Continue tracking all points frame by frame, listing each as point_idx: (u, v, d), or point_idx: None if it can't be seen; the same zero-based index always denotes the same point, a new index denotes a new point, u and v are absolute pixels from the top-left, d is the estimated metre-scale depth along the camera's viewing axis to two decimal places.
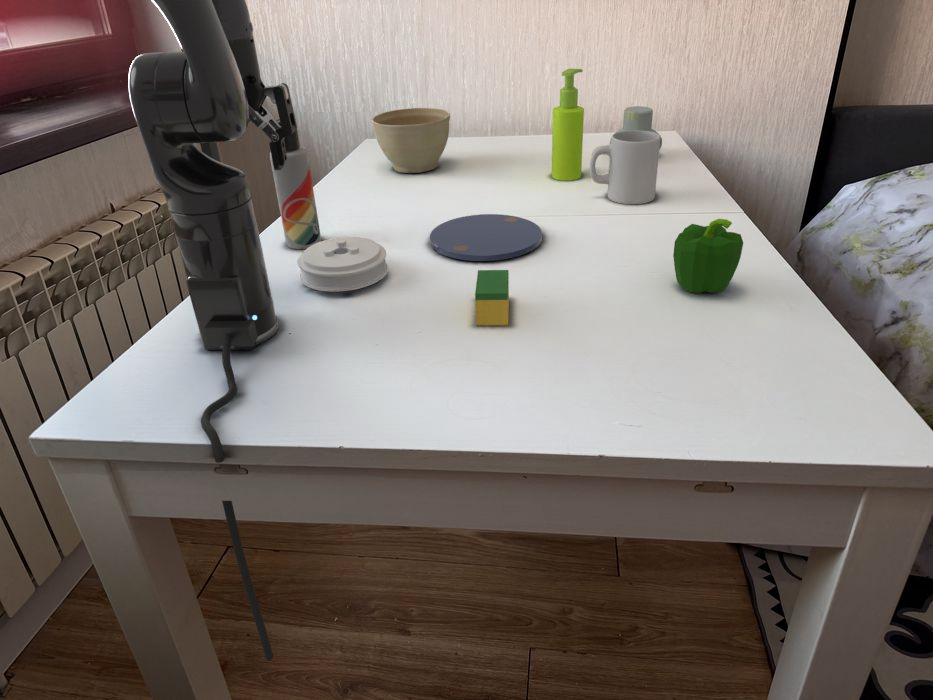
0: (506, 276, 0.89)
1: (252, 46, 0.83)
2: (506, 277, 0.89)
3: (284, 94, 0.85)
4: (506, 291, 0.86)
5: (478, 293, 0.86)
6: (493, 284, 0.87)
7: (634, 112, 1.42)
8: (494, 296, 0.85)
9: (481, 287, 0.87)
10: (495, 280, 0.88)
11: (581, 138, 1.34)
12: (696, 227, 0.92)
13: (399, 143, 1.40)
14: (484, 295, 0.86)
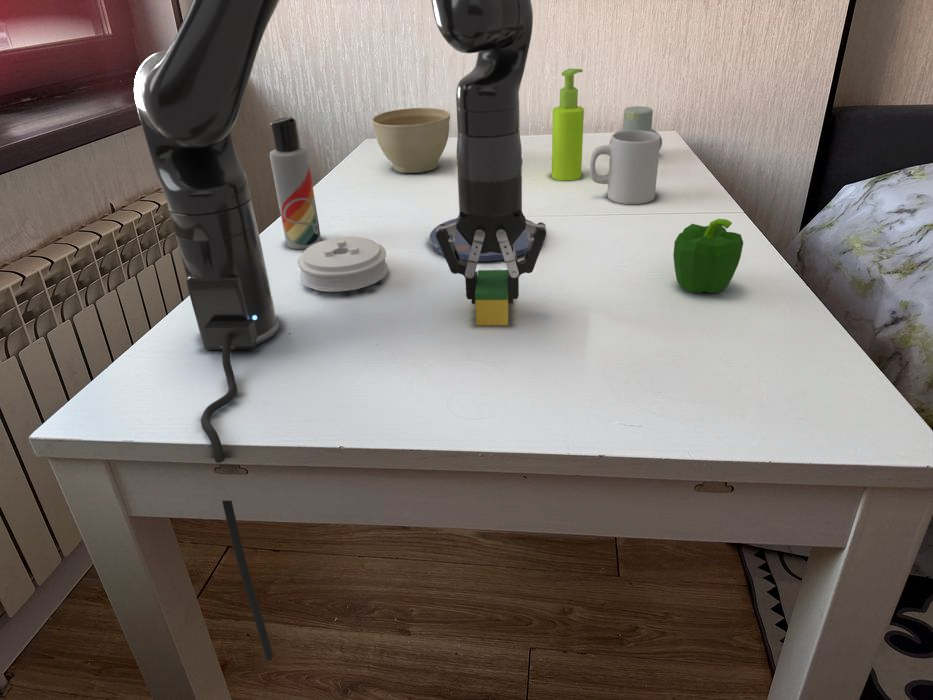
0: (506, 276, 0.89)
1: (521, 180, 0.81)
2: (506, 277, 0.89)
3: (544, 237, 0.84)
4: (506, 291, 0.86)
5: (478, 293, 0.86)
6: (493, 284, 0.87)
7: (634, 112, 1.42)
8: (494, 296, 0.85)
9: (481, 287, 0.87)
10: (495, 280, 0.88)
11: (581, 138, 1.34)
12: (696, 227, 0.92)
13: (399, 143, 1.40)
14: (484, 295, 0.86)
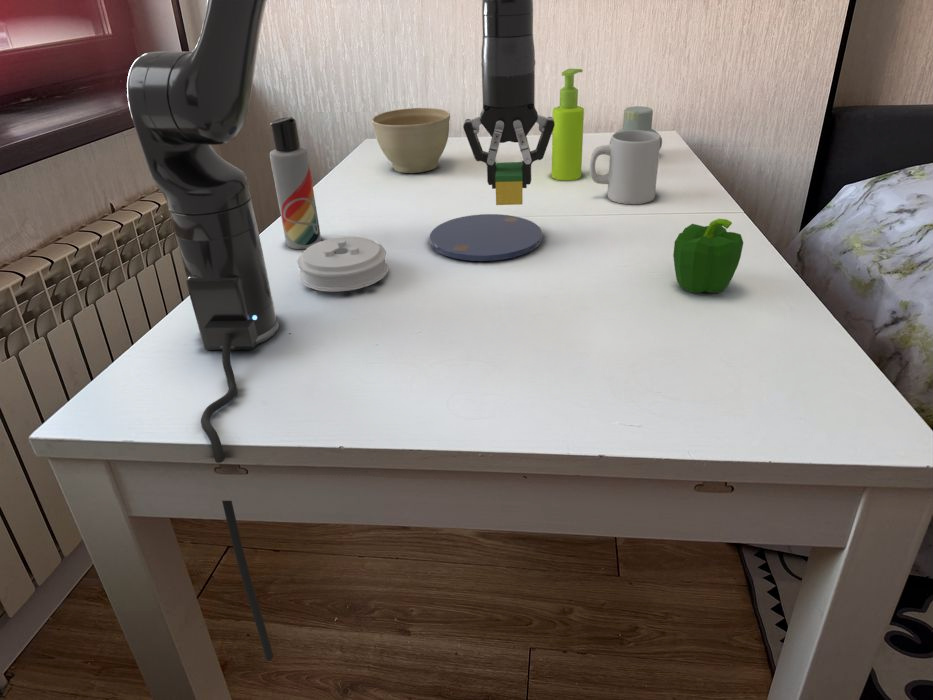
0: (520, 165, 1.07)
1: (534, 78, 0.99)
2: (520, 166, 1.07)
3: None
4: (521, 174, 1.03)
5: (497, 175, 1.03)
6: (510, 170, 1.05)
7: (634, 112, 1.42)
8: (511, 178, 1.03)
9: (500, 172, 1.05)
10: (511, 168, 1.06)
11: (581, 138, 1.34)
12: (696, 227, 0.92)
13: (399, 143, 1.40)
14: (503, 177, 1.03)
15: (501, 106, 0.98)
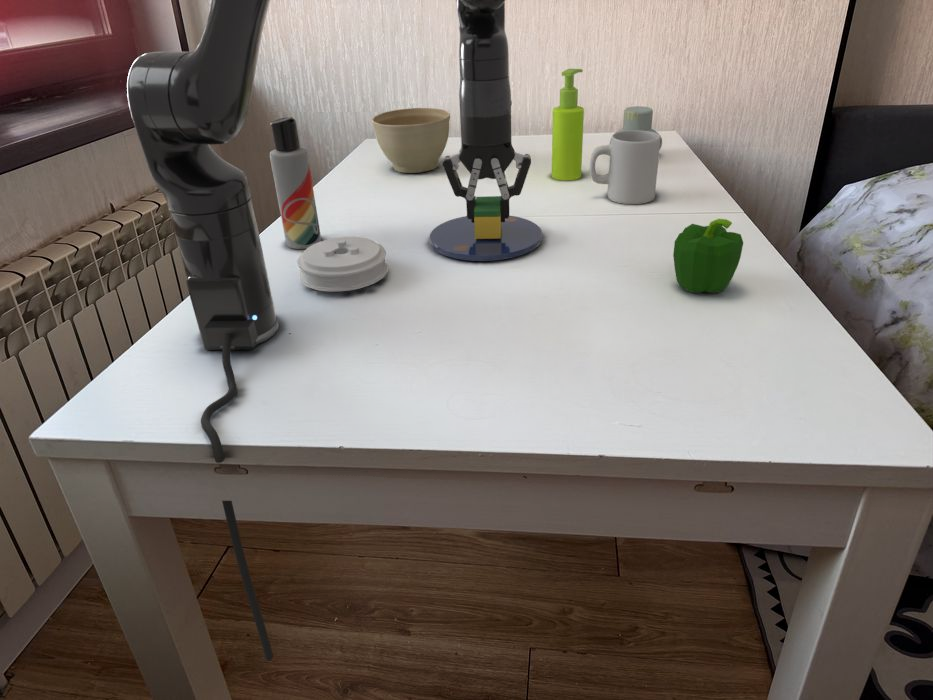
0: (499, 200, 1.10)
1: None
2: (499, 201, 1.10)
3: (529, 165, 1.05)
4: (499, 209, 1.07)
5: (476, 211, 1.06)
6: (488, 205, 1.08)
7: (634, 112, 1.42)
8: (489, 214, 1.06)
9: (479, 207, 1.08)
10: (490, 203, 1.09)
11: (581, 138, 1.34)
12: (696, 227, 0.92)
13: (399, 143, 1.40)
14: (481, 213, 1.06)
15: (478, 145, 1.01)
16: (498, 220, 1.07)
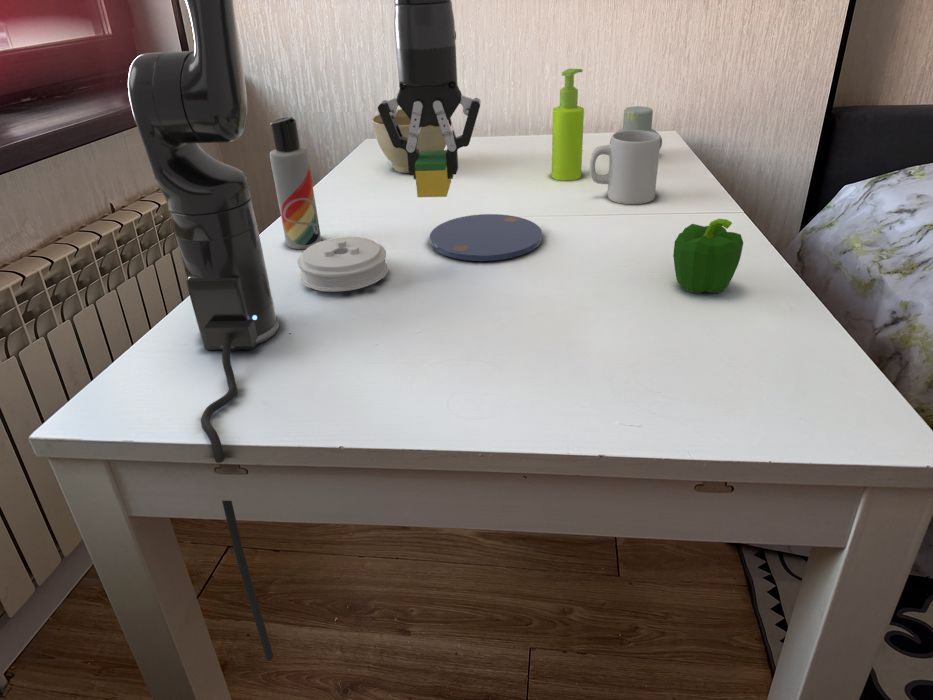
0: None
1: (455, 53, 0.88)
2: None
3: (478, 110, 0.90)
4: (444, 162, 0.92)
5: (417, 163, 0.92)
6: (433, 158, 0.94)
7: (634, 112, 1.42)
8: (432, 167, 0.92)
9: (421, 160, 0.93)
10: (435, 156, 0.95)
11: (581, 138, 1.34)
12: (696, 227, 0.92)
13: None
14: (423, 166, 0.92)
15: (417, 84, 0.87)
16: (443, 175, 0.92)
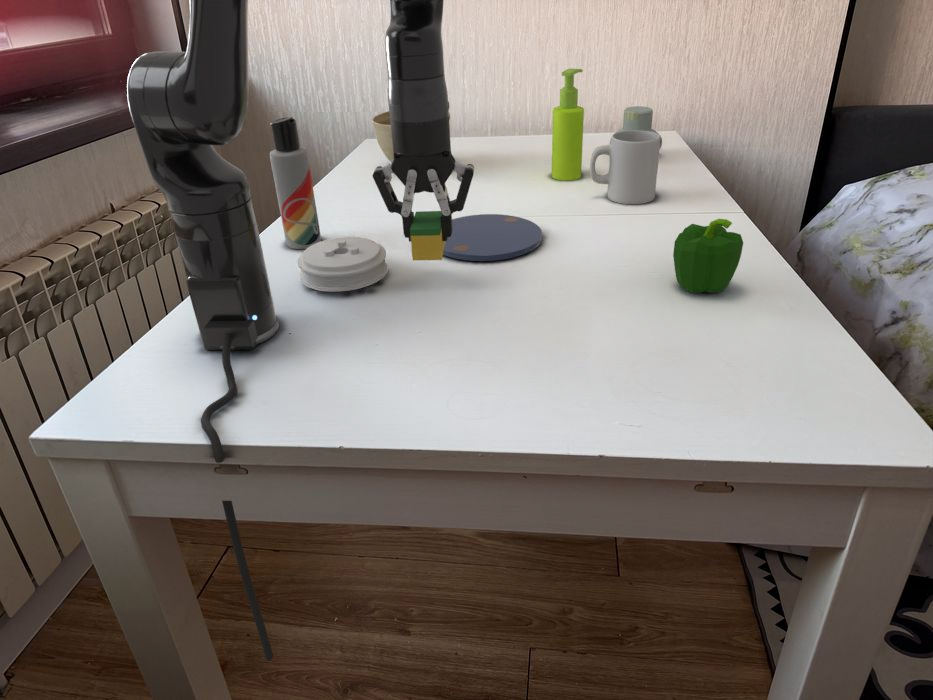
0: None
1: None
2: None
3: None
4: (438, 227, 0.93)
5: (412, 229, 0.93)
6: (428, 222, 0.95)
7: (634, 112, 1.42)
8: (427, 232, 0.93)
9: (416, 224, 0.94)
10: (430, 219, 0.96)
11: (581, 138, 1.34)
12: (696, 227, 0.92)
13: None
14: (418, 231, 0.93)
15: (411, 155, 0.88)
16: (438, 239, 0.93)
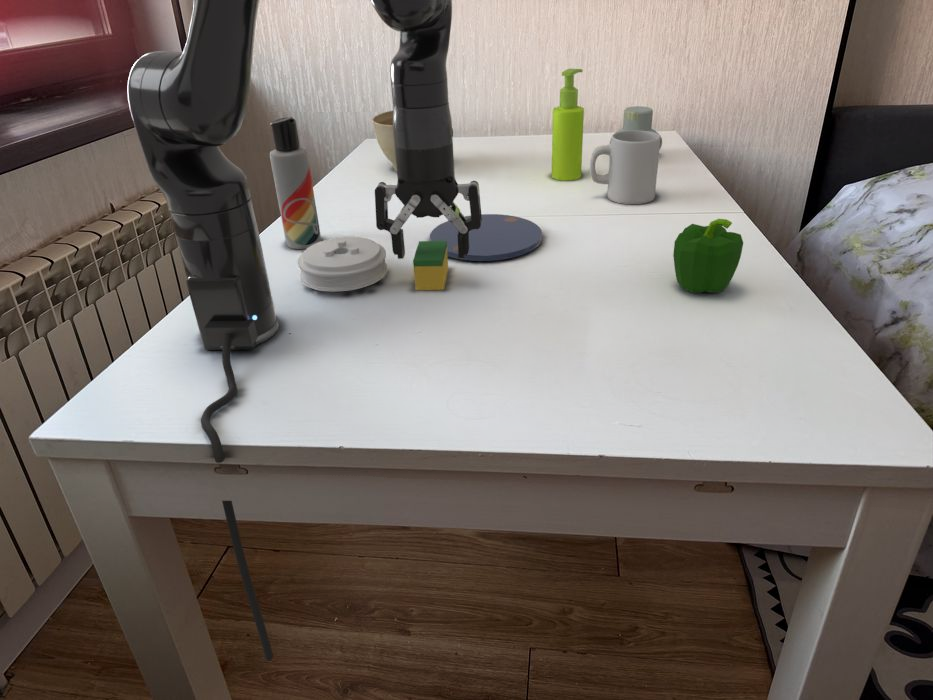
0: (443, 246, 0.99)
1: (452, 150, 0.90)
2: (443, 247, 0.99)
3: (477, 192, 0.91)
4: (441, 258, 0.95)
5: (415, 260, 0.95)
6: (430, 253, 0.97)
7: (634, 112, 1.42)
8: (430, 263, 0.95)
9: (419, 255, 0.96)
10: (433, 250, 0.98)
11: (581, 138, 1.34)
12: (696, 227, 0.92)
13: None
14: (421, 262, 0.95)
15: (414, 181, 0.89)
16: (440, 270, 0.96)
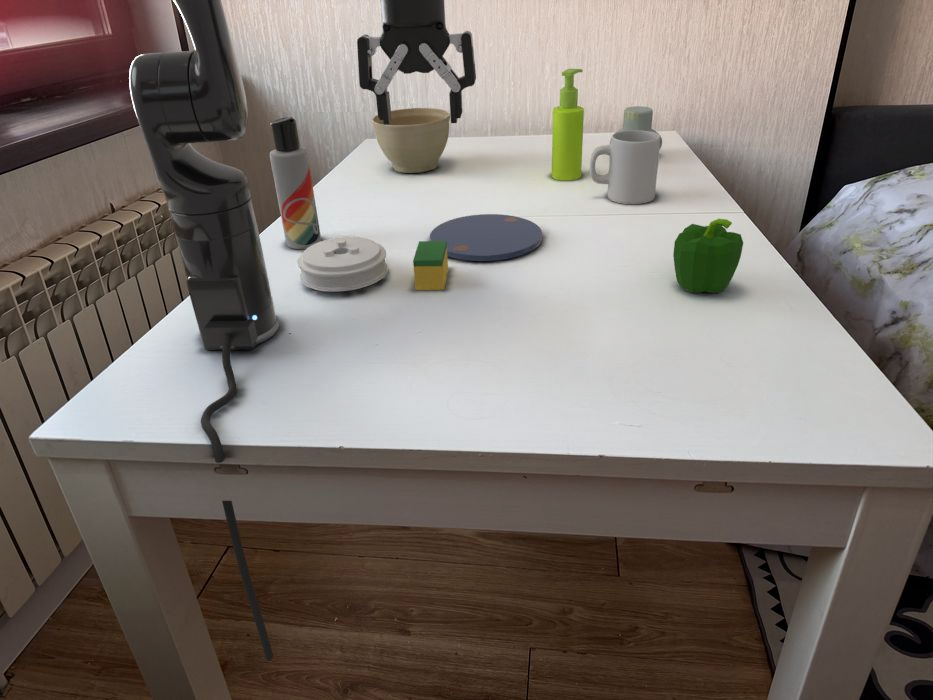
0: (443, 246, 0.99)
1: None
2: (443, 247, 0.99)
3: (471, 41, 0.83)
4: (441, 258, 0.95)
5: (415, 260, 0.95)
6: (430, 253, 0.97)
7: (634, 112, 1.42)
8: (430, 263, 0.95)
9: (419, 255, 0.96)
10: (433, 250, 0.98)
11: (581, 138, 1.34)
12: (696, 227, 0.92)
13: (399, 143, 1.40)
14: (421, 262, 0.95)
15: (401, 24, 0.80)
16: (440, 270, 0.96)
